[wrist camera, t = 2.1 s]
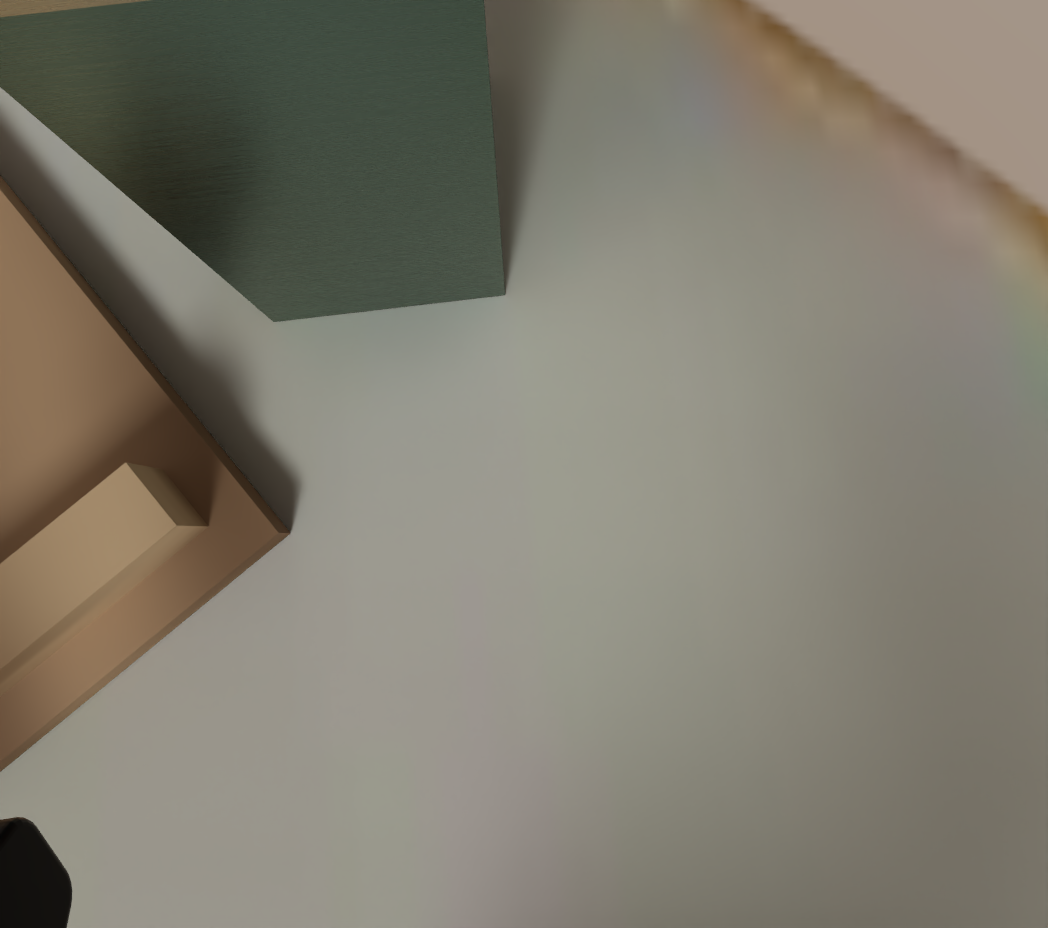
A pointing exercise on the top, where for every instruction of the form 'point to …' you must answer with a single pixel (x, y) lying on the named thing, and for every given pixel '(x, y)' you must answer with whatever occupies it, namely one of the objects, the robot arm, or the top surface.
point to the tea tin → (283, 137)
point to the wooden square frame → (96, 493)
